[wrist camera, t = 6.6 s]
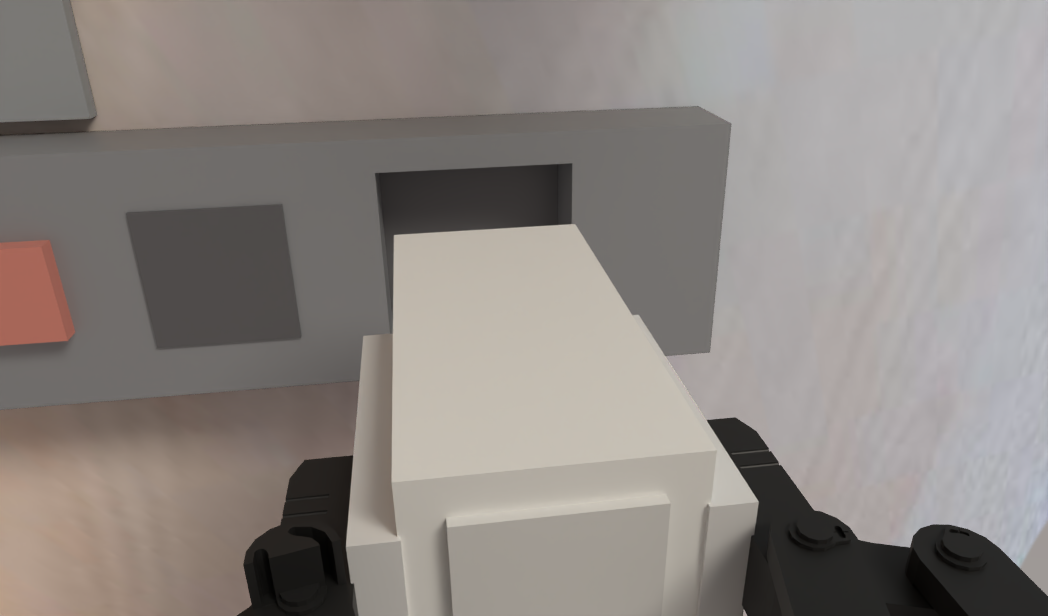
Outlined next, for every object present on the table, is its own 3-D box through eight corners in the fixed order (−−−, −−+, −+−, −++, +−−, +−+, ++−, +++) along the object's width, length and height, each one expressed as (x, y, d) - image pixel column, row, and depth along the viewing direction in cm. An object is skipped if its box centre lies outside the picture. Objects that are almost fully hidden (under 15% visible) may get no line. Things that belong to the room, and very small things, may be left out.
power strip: (-189, 381, 27) (-270, 441, 24) (-294, 147, 23) (-405, 179, 20) (682, 316, 31) (715, 360, 27) (698, 106, 27) (738, 127, 24)
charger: (407, 393, 22) (415, 726, 12) (393, 235, 20) (391, 491, 11) (572, 379, 22) (696, 687, 13) (575, 224, 20) (721, 458, 11)
